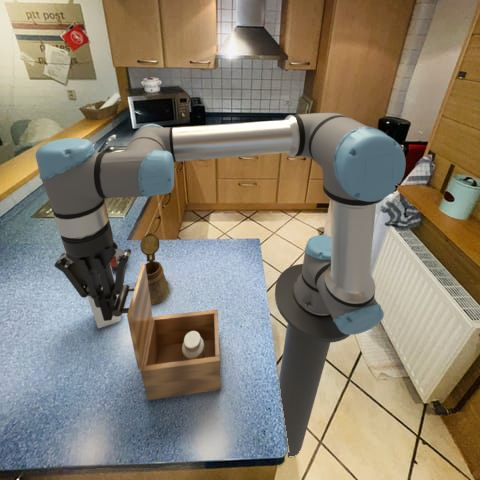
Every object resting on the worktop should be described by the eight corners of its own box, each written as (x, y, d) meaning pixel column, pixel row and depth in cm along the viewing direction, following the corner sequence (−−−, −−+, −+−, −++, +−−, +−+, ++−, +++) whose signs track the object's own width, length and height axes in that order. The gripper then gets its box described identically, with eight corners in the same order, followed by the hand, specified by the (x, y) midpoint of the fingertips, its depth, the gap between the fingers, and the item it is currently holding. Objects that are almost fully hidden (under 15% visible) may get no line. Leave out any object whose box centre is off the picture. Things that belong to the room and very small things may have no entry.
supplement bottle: (208, 353, 66) (206, 330, 63) (200, 376, 62) (198, 353, 58) (189, 348, 68) (186, 325, 64) (180, 371, 63) (177, 348, 59)
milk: (120, 304, 80) (107, 251, 71) (120, 321, 75) (106, 267, 66) (99, 310, 78) (83, 257, 69) (97, 329, 72) (79, 274, 64)
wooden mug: (168, 268, 93) (163, 229, 86) (170, 300, 81) (164, 259, 74) (142, 273, 90) (135, 234, 83) (141, 308, 79) (132, 265, 71)
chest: (218, 337, 71) (217, 309, 66) (220, 389, 60) (220, 360, 55) (156, 344, 69) (151, 316, 64) (147, 400, 58) (140, 371, 53)
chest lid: (145, 263, 57) (123, 265, 56) (131, 315, 46) (103, 317, 45) (152, 315, 64) (132, 317, 63) (141, 370, 53) (118, 372, 52)
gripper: (130, 211, 48) (145, 295, 58) (56, 214, 46) (85, 301, 56) (117, 238, 41) (137, 328, 51) (31, 243, 40) (68, 336, 49)
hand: (109, 314), depth 54 cm, fingers closed
